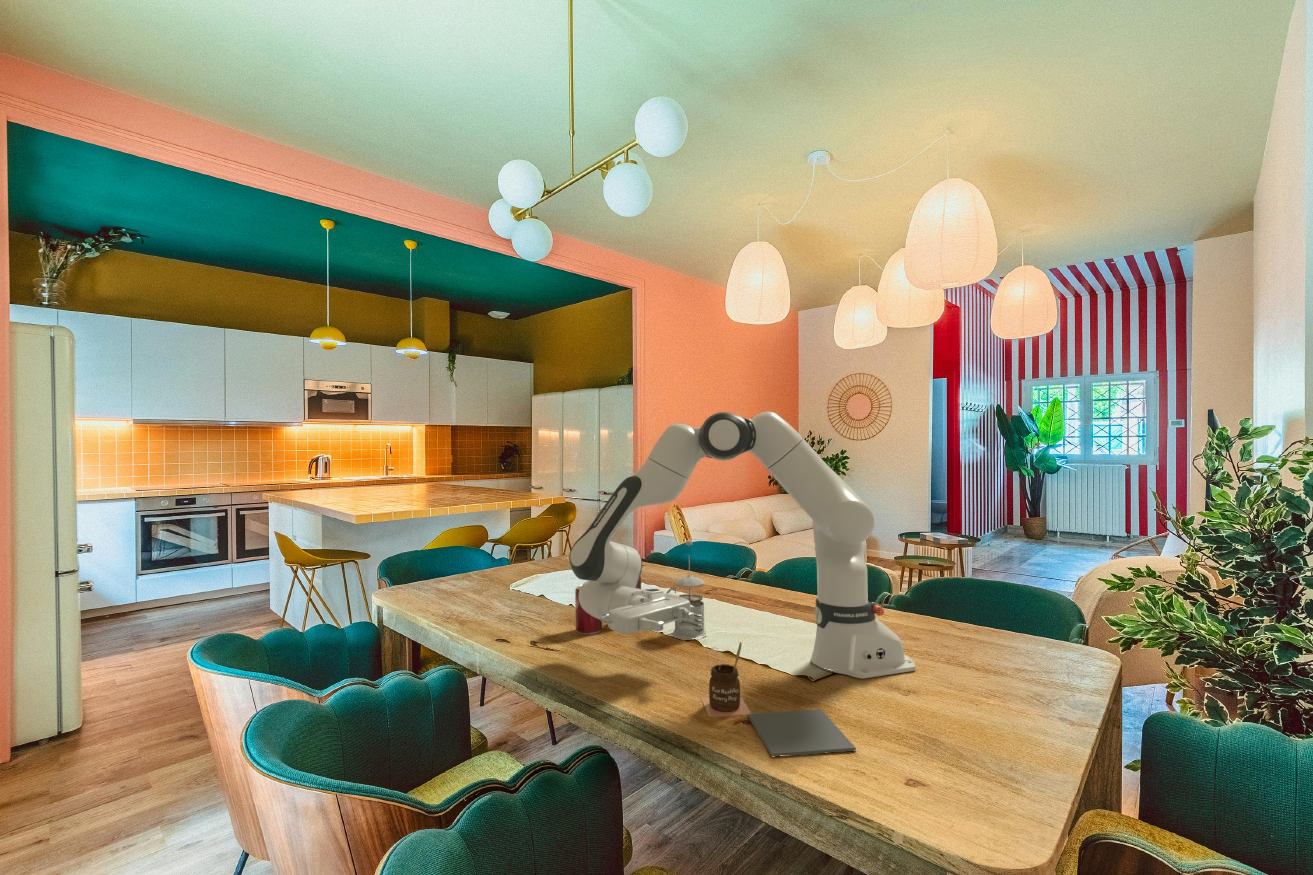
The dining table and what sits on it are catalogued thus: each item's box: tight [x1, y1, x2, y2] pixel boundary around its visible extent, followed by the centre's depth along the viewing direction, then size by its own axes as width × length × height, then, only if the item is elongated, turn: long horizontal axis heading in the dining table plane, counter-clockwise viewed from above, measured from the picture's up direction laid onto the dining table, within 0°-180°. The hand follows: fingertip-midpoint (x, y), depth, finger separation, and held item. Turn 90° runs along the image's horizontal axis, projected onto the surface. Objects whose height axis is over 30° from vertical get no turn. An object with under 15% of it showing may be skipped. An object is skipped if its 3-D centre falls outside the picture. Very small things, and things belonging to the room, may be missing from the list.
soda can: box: [574, 584, 603, 636], centre depth 157 cm, size 7×7×12 cm
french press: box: [666, 539, 707, 641], centre depth 154 cm, size 10×12×25 cm
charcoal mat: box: [747, 708, 857, 757], centre depth 99 cm, size 14×14×1 cm
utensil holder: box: [708, 641, 743, 712], centre depth 110 cm, size 6×6×12 cm
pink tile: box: [700, 695, 752, 718], centre depth 110 cm, size 8×8×1 cm
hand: (677, 622), depth 119 cm, fingers open, 8 cm apart
